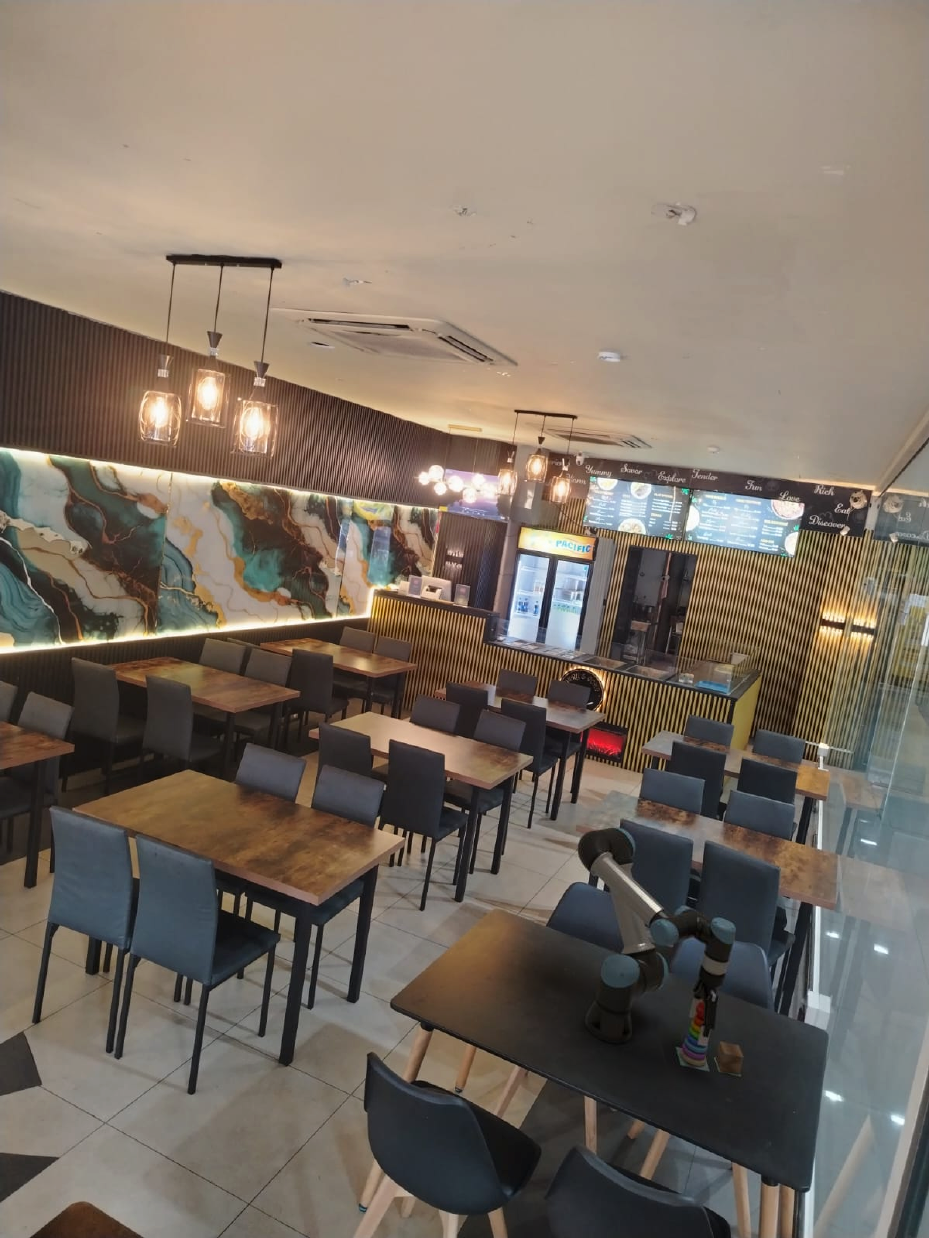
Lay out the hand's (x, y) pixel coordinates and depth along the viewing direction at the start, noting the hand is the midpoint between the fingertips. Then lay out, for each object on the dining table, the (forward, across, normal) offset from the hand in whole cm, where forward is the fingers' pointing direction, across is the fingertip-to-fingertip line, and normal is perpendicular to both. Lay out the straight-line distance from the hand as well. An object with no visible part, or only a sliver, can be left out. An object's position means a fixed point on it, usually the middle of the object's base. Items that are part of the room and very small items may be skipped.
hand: (697, 1030), depth 252 cm
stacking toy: (+9, 0, 0) cm, 9 cm away
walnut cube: (+9, 0, -11) cm, 15 cm away
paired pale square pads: (+10, 0, -4) cm, 11 cm away
